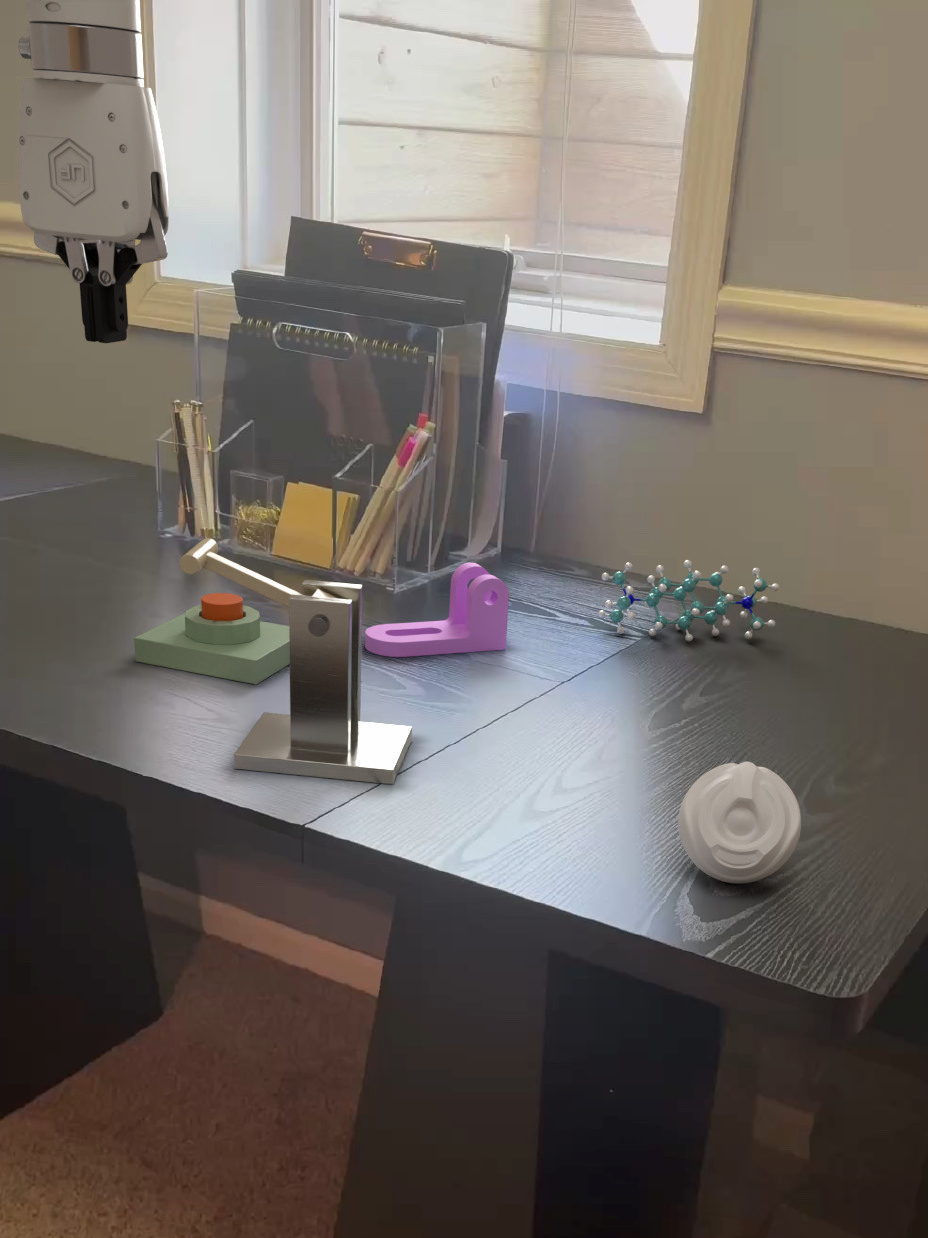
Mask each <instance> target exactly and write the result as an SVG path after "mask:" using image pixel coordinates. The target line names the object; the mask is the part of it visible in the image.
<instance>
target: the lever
mask: <svg viewBox="0 0 928 1238" xmlns="http://www.w3.org/2000/svg"><path fill="white" fill-rule="evenodd" d="M218 553H219V545H218V543H217V541H216V540H215V539H213V538H210V537H206V538H203V539H202V540H201V541H199V542H198V543H197V544H196V545H194V546H193V547H192V548H191V549H189V550H188V551H187V552H186V553H184V555H182V556H181V557H180V559H179V567H180V569H181V571H182V572H183V573H185V574H186V575H191V576H192V575H195V574H197V573H198V572H199V571H200V570H201V569H203V568H204V569H206V570H208V571H210V572H212V573H215V574H216V575H219V576H221V577H223V578H225V579H227V580H229V581H231V582H234V583H235V584H238V585H240V586H242V587H244V588H246V589H249V590H250V591H253V592H255V593H257V594H259V595H262V596H263V597H265V598H268V599H269V600H272V601H275V602H276V603H279V604H281V605H283V606H285V607H287V608H289V598H290V597H291V595H302V593H300V592H298V591H296V590H294V589H291V588H289V587H287V586H285V585H283V584H281V583H279V582H276V581H274V580H272V579H271V578H268V577H266V576H264V575H262V574H259V573H258V572H255V571H253V570H251V569H249V568H247V567H244V566H242V565H241V564H238V563H236V562H234V561H231V560H230V559H227V558H225V557H224V556H221V555H218ZM313 596H315V597H326V598H336V597H334V596H332V595H330V594H328V593H326V592H323V591H321V590H319V589H317V591H316V592H315V593H314V594H313ZM336 599H338V598H336Z"/></svg>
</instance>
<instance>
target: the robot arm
mask: <svg viewBox="0 0 928 1238" xmlns="http://www.w3.org/2000/svg"><path fill="white" fill-rule="evenodd" d="M140 2H141V0H26V7H27V19H28V20H27V21H28V36H21V37H20V38H19V40H18V43H17V44H18V45H17V47H18V51H19V52H18V53H19V55H20V56H21V57H22V58H23V59H25V60H30V63H31V69H32V77H31V78H30V77H22V83H21V88H20V95H19V105H18V107H19V108H18V119H17V120H18V121H17V122H18V123H17V170H18V171H17V172H18V191H19V192H18V193H19V194H18V195H19V205H20V213H21V218H22V221H23V223H24V225H25V226H26V227H27V228H28V229H29V230H31V231H32V232H33V233H34V234H33V244H34V245H35V246H36V247H37V248H38V249H40V250H43V251H45V252H47V253H50V254H52V255H55V256H58V258H59V259H61V261H62V262H63V263H64V264H65V266H66V267H67V268H68V269H69V272H70V276H71V278H72V281H74V283H77V284H79V294H80V309H81V321H82V324H83V327H84V338H85V341H86V342H91V343H92V342H93V343H96V342H97V343H100V344H111V343H118V342H125V341H126V340H127V338H128V331H127V330H128V327H129V313H128V298H127V285H130V284H132V281H133V280H134V275H135V274H136V272H137V271H138V270H139V269H140V268H141V266H142V265H144V264H149V263H154V262H158V261H163V260H166V259H167V257H168V254H169V252H168V247H167V242H166V238H165V236H166V235H167V233H168V231H169V225H170V204H169V202H170V201H169V190H168V189H169V188H168V187H169V186H168V177H167V166H166V160H165V159H166V158H165V151H164V144H163V138H162V137H163V136H162V131H161V126H160V121H159V117H158V112H157V107H156V102H155V100H154V95H153V91H152V88H151V87H146V86H145V80H144V60H143V42H142V41H143V39H142V23H141V3H140ZM136 240H138V241H139V243H138V244H136Z"/></svg>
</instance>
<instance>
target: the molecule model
mask: <svg viewBox="0 0 928 1238" xmlns="http://www.w3.org/2000/svg"><path fill="white" fill-rule="evenodd" d="M692 566H693V565H692V561H691V560H689V559H685V561H684V562H683V567H684V568H685V569H687V570H688V573H687V574H686V577H685V579H684V580H683V582H682V583H673V582H672V580H671V579H670V578H669V577H664V571H665V568H664V565H662V564H661V565H660V564H659V565H657V566H656V567H655V571H656V573H657V574H660V577H661V578H660V579H659V580H658V582H657V586H656V585H655V581H656V577H655V576H654V575H652V574H651V575H650V574H649V575H648V576H647V582H648V583H649V584H651V586H652V588H651V589H650V591H649V594H647V595H646V598H635V596H634V595H633V593H634V590H635V589H634V588H633V586H630V585H628V586H627V587H626V588H625V585H624V584H625V582H626V581H627V575H626V573H627V571H628V572H629V571H631V570H632V569H633V564H632V563H631V562H626V563H625V564H624V570H623V571H617V572H615V573H613V575H610V574H609V573H608V572H603V573H602V574H601V576H600V578H601V580H602V581H604V582H606V581H608V580H609V579H610V580H612V582H613V584H615V585H616V586H620V587H621V589H622V592H623V593H624V594H623V595H622V596H620V597H619V598H617V602H612V601H611V600H606V601H605V602H604V608H606V609H611V608H612V607H613V606H617V607H618V609H617V608H616V609H613V610H612V611H611V612H610V613H606V611H605V610H603V609H601V610H599V611H598V613H597V616H598V618H600V619H604V618H605V617H609V619H610V620H611V621H612V622H613V623H616V624H617V626H618V627H617V628H616V632H617V634H618V635H623V634H624V633H625V628H624V626H621V622H622V621H623V619H624V617H625V612H624V611H625V610H626V612H627V614H626V618H627V619H628V620H629V621H633V620H635V618H636V614H635V612H632V611H630V609H629V608H630V607H631V606H632V605H633V604H634V603H635V602H644V605H645V607H646V608H653V609H654V612H655V614H656V617H654V620H653V625H654V628H651V629H649V630H648V635H649V636H650V637H655V636H656V635H657V631H660V630H662V629H664V628H666V627H667V625H672V624H673V625H675V629H676V630H677V631H682V630H684V631H685V634H686V635H685V637H684V640H685V641H686V642H688V643H690V642H692V641H693V639H694V636H693V634H691V633H689V628H690V626H691V623H692V622H693V621H694V619H701V620H704V622H705V623H706V624H707V625H711V627H712V629H711V635H712V636H713V637H718V636H719V635H720V630H719V629H718V628H716V625H715V624H716V623H717V621H718V616H721V617H722V619H723V620H722V622H721V624H722V626H723V627H724V628H728V627H729V626H730V625H731V621H730V620H729V619H728V618H726V615H725V614H727V613H728V609H729V607H730V605H741V608H742V609H744V610H743V611H741V612H740V614H739V616H740V618H741V619H742V620H745V619H747V618H748V615H749V614H748V611H749V613H750V615H751V617H752V619H751V620H750V622H749V625H750V628H751V629H750V630H748V631H746V632H745V633H744V638H745V639H746V640H751V639H752V638H753V636H754V635H753V632H754V631H760V630H761V629H763V627H764V626H768V628H774V627H775V626H776V621H775V620H773V619H769V620H768V621H767V622H764V620H763V618H761V617H760V616H755V613H754V612H753V610H752V609H753V608H754V607H755V606H756V605H757V603H761V604H762V605H766V604H768V602H769V598H768V597H767V596H765V595H763V596H761V597H760V599H756V597H754V596H755V595H756V594H757V593H758V592H760V593H761V592H764V591H765V590H766V589H767V588H770V589H771V590H772V592H778V591H779V590H780V585H779V584H778V583H776V582H775V583H773V584H771V585H770V584H768V582H767V580H766V579H765V578H763V577H760V574H761V569H760V568H759V567H754V568H753V569H752V570H751V573H752V575H753V576H755V577H756V579H755V580H754V582H753V588H754V591H753V592H752V594H750V595H747V594H746V591H747V589H746V587H745V586H739V587H738V588H737V593H738V594H740V595H743V598H742V599H741V601H734V595H733V594H731V593H728V594H726V595H723V593H722V590H721V587H720V586H721V585H722V583H723V576H722V575H724V574H727V573H728V572H729V567H728V565H722V566H720V572H719V571H716V572H714V573H712V574H710V576H709V578H708V577H702V573H701V571H699V570H695V571H692V569H691V567H692ZM700 581H702V582H703V581H704V582H707V581H708V582H709V584H710V586H712V587H716V588H717V591H718V594H719V597H718V598H717V599H716V603H715V604H714V606H705V605H704V603H703V602H702V601H701V600H697V599H696V598H695V594H694V592H693V591H695V589H696V585H698V584H699V582H700ZM672 587H677V588H675V589H674V591H673V592H668V591H670V589H671V588H672ZM687 593H690V595H691V598H692V601H693V602H692V603H691V604H690V609H687V607H686V604H685V602H684V600H685V599H686V597H687ZM663 596H673V598H674V600H676V601H678V602H681V605H682V608H683V611H682V613H681V614H680V617H679V618H678V619H677V621H676V620H675V621H674V620H673V621H672V620H668V618H667V617H666V616H665V615H661V614H660V613H659V610H658V608H657V606H658V605H659V603H660V600H661V599H662V598H663ZM704 610H709V611H707V612H705V614H704V615H701V614H702V613H703V612H704Z"/></svg>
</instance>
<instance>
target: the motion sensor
mask: <svg viewBox="0 0 928 1238" xmlns="http://www.w3.org/2000/svg"><path fill="white" fill-rule="evenodd" d="M677 830H678V831H677V832H678V836H679V840H680V843H681V845H682V847H683V849H684V851H685V853H686V855H687V856H688V858H689V859H690V860H691V862H692V863H693V864H694V865H695V867H697V868H698V869H699V870H700V871H702V872H703V873H704V874H706V875H707V876H709V877H711V878H713V879H715V880H718V881H721V882H725V883H728V884H749V883H753V882H758V881H760V880H763V879H765V878H768V877H770V876H771V875H773V874H774V873H775V872H777V871H778V870H780V869H781V868H782V867H783V866H784V865H785V863H787V861H789V859H790V858H791V856H792V855H793V853H794V852H795V850H796V848H797V846H798V844H799V841H800V837H801V833H802V815H801V809H800V806H799V802H798V800H797V797H796V796H795V794H794V792H793V790H792V789H791V788H790V786H789V785H788V783H786V781H785V779H783V778H782V777H780V775H778V774H777V772H776V773H775V772H774V771H773V770H771V769H770V768H767V767H764V766H757V765H756V764H755V763H753V762H751V761H743V762H740V763H739V764H738V763H735V762H729V763H723V764H721V765H718V766H716V767H714V768H712V769H710V770H708V771H707V772H705V773H704V774H702V775H701V776H700V777H699V778H698V779H697V780H696V781H695V782H694V783H693V784H692V785H691V786H690V787H689V789H688V791H687V792H686V794H685V795H684V797H683V799H682V801H681V805H680V808H679V811H678V817H677Z"/></svg>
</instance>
